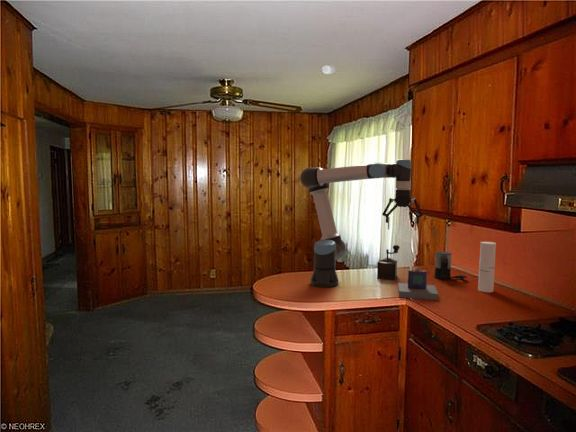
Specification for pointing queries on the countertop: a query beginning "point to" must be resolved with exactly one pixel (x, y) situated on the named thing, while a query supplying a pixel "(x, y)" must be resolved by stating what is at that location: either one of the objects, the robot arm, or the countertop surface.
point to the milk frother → (444, 266)
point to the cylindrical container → (487, 266)
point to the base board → (418, 292)
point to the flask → (417, 279)
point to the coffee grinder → (388, 266)
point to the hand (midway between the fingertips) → (401, 229)
